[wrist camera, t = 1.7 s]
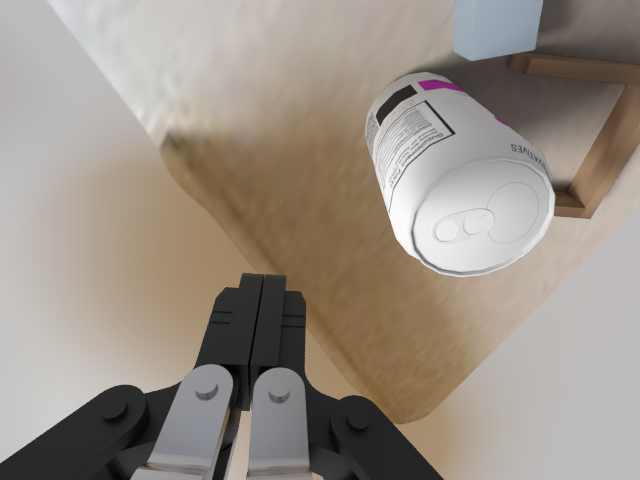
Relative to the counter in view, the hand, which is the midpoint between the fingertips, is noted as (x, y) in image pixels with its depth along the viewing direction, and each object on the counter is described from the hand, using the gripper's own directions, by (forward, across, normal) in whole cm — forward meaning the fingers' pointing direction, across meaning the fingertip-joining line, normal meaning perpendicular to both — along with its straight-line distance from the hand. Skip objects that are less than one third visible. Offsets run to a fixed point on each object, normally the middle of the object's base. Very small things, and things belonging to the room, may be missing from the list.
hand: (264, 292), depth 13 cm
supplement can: (+21, -10, 0) cm, 23 cm away
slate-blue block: (+21, -13, -8) cm, 26 cm away
